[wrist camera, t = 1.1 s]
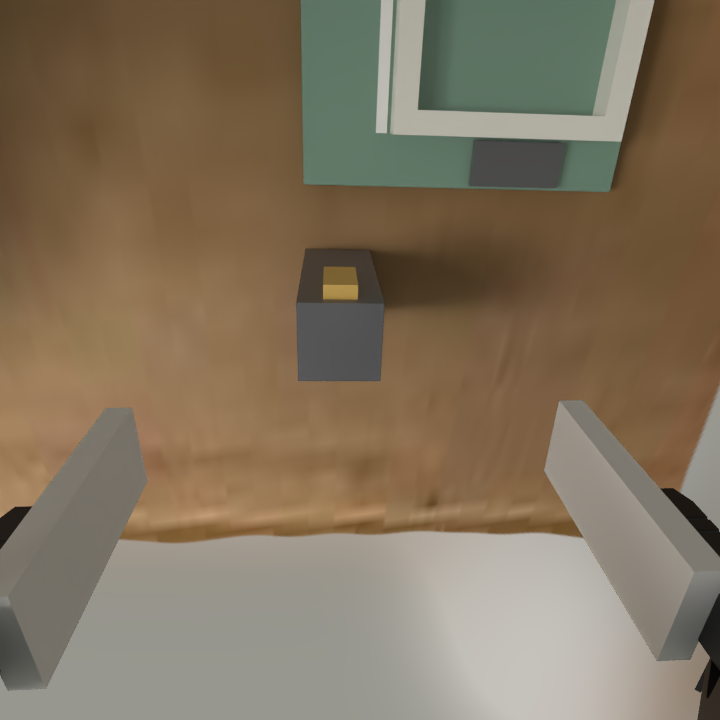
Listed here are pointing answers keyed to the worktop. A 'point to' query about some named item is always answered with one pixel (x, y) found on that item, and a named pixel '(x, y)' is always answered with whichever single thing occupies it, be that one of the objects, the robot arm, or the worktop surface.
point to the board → (468, 91)
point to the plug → (339, 317)
